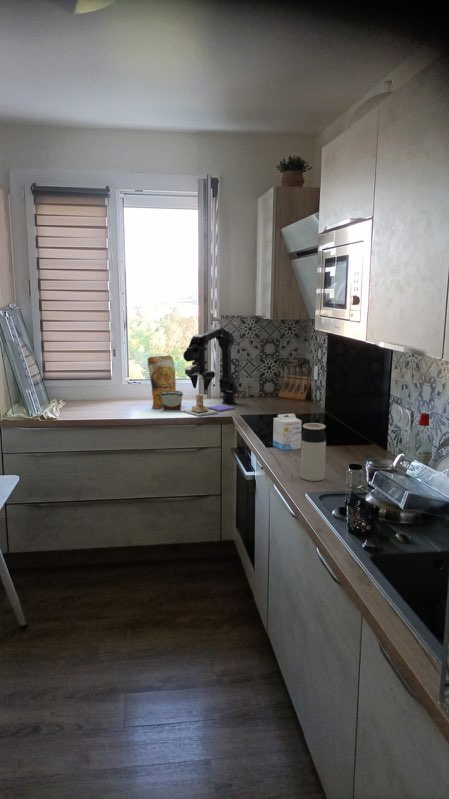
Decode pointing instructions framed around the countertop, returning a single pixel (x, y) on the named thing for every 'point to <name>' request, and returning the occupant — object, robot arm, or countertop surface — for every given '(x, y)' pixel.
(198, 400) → the stamp
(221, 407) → the ink pad
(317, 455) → the travel mug
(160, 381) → the pancake mix bag
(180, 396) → the food container
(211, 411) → the marked board
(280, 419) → the ink box
